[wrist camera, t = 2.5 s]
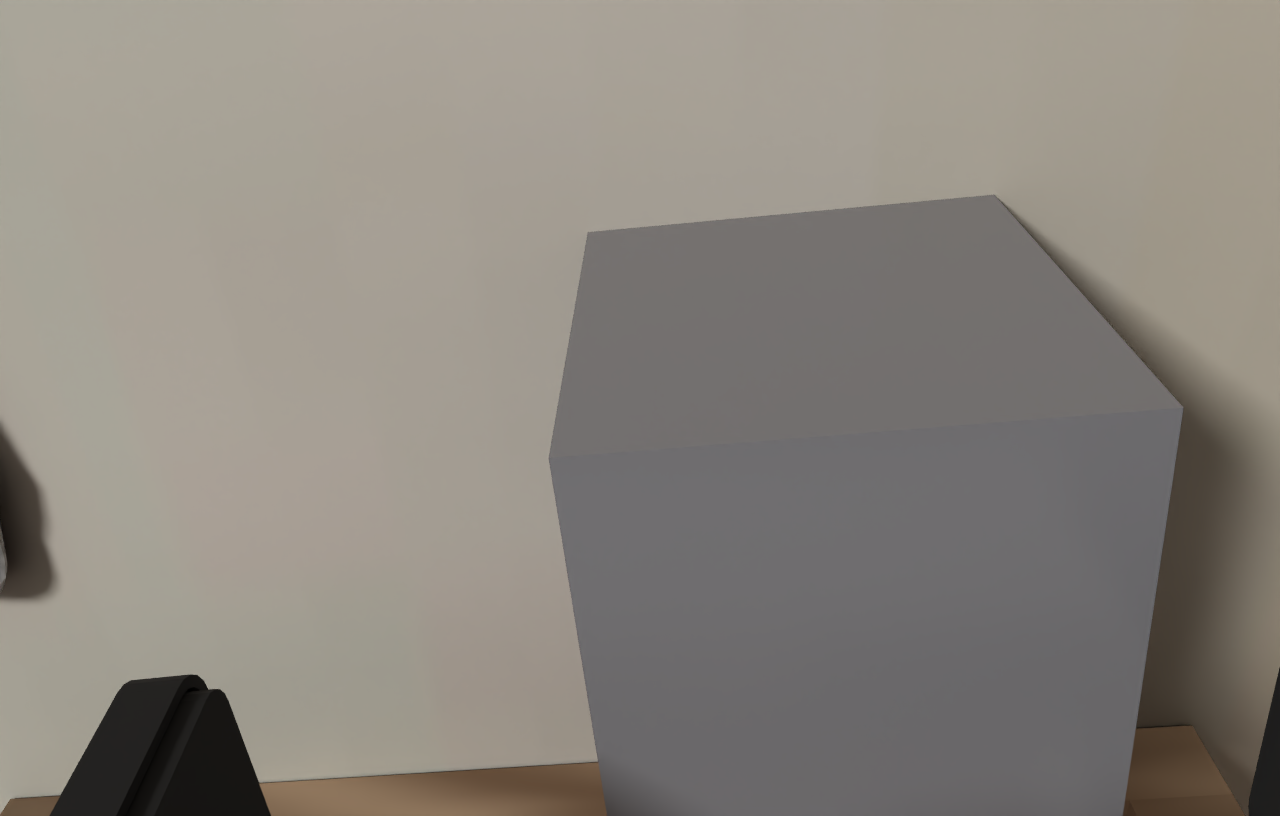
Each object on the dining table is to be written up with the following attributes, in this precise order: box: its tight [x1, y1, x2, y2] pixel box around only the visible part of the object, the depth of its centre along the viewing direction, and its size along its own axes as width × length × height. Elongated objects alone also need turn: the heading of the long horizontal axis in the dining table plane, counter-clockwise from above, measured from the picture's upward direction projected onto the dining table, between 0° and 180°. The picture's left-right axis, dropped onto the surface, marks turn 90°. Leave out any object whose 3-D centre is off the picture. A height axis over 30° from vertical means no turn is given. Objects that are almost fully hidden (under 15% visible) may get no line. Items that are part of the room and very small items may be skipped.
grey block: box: [549, 195, 1183, 816], centre depth 13 cm, size 5×5×6 cm
